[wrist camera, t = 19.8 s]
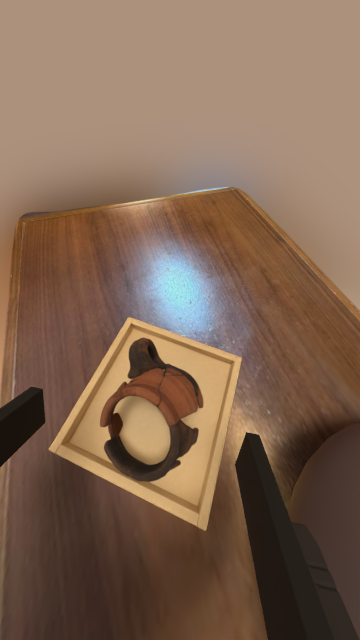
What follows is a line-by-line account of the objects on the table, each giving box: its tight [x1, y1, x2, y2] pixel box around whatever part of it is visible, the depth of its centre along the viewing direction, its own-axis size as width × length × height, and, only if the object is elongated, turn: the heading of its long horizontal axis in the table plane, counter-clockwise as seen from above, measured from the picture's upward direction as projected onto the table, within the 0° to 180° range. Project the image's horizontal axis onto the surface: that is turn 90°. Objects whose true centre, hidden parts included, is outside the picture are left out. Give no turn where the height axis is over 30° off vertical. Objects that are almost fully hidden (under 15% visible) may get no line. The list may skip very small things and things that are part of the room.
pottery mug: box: [100, 337, 203, 482], centre depth 18 cm, size 12×10×8 cm
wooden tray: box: [49, 317, 242, 531], centre depth 20 cm, size 16×16×2 cm
